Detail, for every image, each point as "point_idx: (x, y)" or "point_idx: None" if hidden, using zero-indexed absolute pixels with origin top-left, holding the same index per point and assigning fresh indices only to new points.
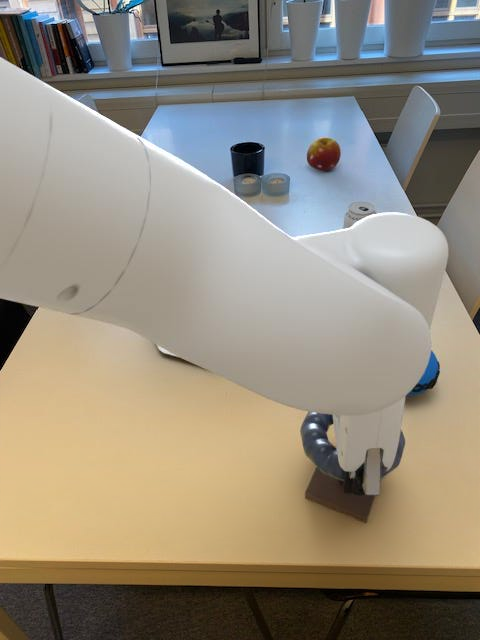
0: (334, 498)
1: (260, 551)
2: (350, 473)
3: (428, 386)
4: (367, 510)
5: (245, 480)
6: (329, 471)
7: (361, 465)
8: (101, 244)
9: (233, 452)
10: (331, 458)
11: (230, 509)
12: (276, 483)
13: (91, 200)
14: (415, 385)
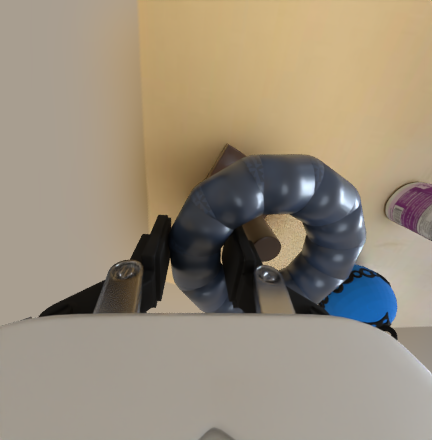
0: None
1: (152, 58)
2: (122, 270)
3: (320, 305)
4: None
5: (269, 46)
6: (187, 203)
7: (147, 295)
8: None
9: (327, 26)
10: (205, 218)
11: (223, 5)
12: (254, 104)
13: None
14: (327, 299)
